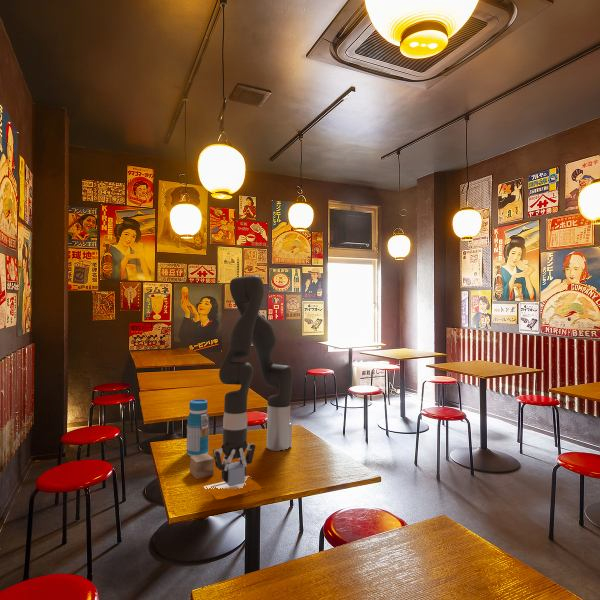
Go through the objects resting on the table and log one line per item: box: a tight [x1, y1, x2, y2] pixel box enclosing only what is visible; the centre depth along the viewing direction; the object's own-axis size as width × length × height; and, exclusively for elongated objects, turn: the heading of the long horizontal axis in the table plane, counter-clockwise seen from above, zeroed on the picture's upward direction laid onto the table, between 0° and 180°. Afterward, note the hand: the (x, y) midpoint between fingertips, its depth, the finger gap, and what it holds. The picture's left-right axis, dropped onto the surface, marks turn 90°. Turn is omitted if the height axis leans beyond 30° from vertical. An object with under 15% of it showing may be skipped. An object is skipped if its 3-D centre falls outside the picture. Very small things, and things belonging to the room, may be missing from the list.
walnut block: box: [189, 452, 215, 480], centre depth 144 cm, size 6×6×6 cm
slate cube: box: [226, 461, 246, 486], centre depth 134 cm, size 5×5×5 cm
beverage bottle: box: [186, 398, 210, 457], centre depth 163 cm, size 8×8×20 cm
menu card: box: [203, 475, 251, 490], centre depth 134 cm, size 16×11×1 cm
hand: (233, 479), depth 134 cm, fingers closed on slate cube, 5 cm apart
